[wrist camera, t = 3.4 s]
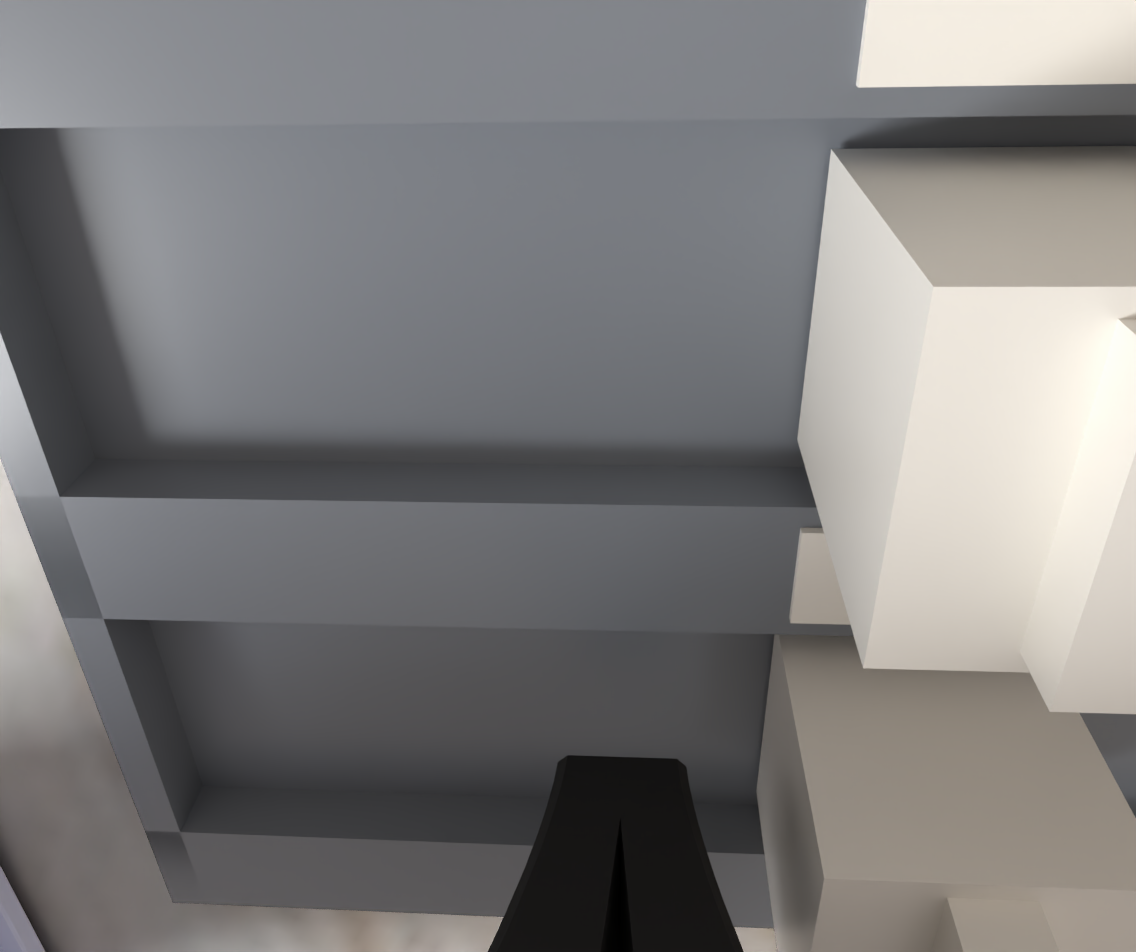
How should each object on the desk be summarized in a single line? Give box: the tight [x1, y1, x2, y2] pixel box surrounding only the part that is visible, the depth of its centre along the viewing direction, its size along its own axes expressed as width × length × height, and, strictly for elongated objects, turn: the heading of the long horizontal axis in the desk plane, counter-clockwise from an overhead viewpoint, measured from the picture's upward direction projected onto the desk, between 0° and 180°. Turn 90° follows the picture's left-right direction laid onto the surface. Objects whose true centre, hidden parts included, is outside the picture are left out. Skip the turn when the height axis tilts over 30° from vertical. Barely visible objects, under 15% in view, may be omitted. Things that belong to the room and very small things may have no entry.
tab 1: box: [797, 146, 1136, 714], centre depth 8 cm, size 3×3×4 cm
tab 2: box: [756, 634, 1136, 952], centre depth 10 cm, size 3×3×4 cm
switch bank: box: [0, 0, 1136, 928], centre depth 9 cm, size 17×18×2 cm
